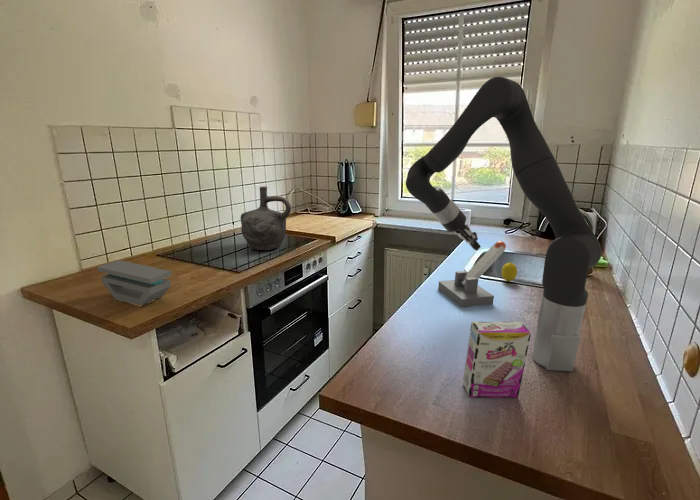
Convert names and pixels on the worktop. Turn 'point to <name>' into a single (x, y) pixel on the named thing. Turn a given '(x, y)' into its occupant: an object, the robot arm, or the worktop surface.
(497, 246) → the lever
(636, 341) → the worktop surface
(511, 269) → the lemon
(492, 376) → the candy bar box
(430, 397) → the worktop surface
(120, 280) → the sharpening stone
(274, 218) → the vessel
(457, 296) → the lever stand
